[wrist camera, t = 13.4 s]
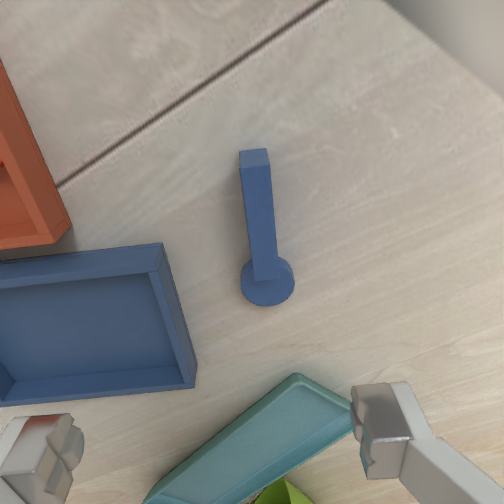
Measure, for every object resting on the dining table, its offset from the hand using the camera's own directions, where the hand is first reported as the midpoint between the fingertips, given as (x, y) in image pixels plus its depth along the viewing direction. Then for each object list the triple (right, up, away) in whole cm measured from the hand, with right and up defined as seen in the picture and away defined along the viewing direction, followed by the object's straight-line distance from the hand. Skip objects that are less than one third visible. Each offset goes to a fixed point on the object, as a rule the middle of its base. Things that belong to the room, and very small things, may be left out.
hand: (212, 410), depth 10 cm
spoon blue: (+2, +5, +14) cm, 15 cm away
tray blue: (-12, -1, +17) cm, 21 cm away
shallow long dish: (0, -16, +28) cm, 32 cm away
